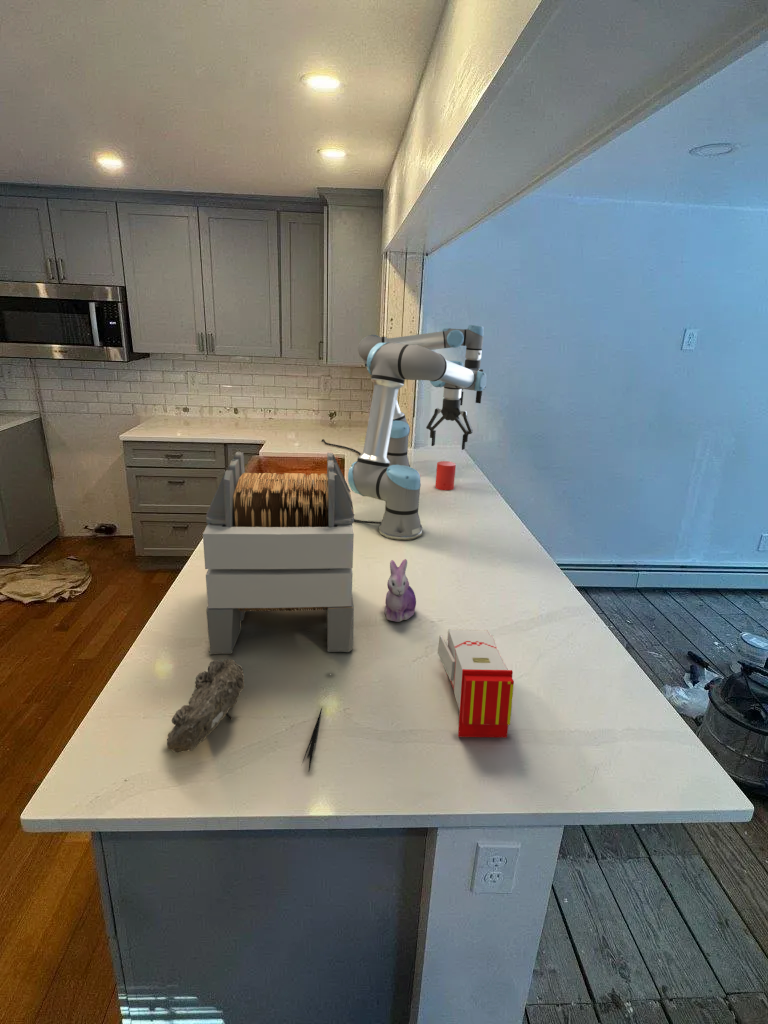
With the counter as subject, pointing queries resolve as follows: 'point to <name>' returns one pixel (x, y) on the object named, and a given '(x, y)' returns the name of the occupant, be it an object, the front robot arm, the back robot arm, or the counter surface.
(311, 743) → the feather
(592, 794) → the counter surface
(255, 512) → the record storage crate
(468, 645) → the toy
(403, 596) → the figurine
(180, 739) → the fossil
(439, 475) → the tin
